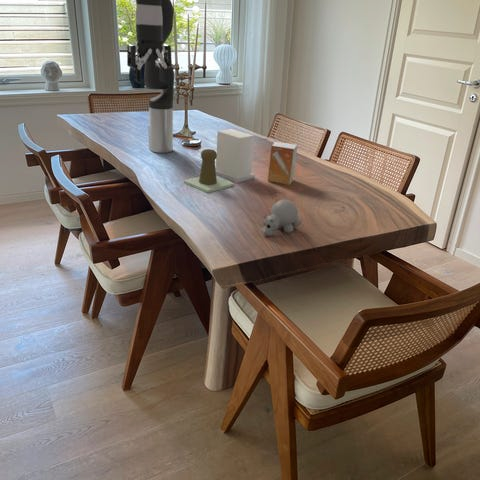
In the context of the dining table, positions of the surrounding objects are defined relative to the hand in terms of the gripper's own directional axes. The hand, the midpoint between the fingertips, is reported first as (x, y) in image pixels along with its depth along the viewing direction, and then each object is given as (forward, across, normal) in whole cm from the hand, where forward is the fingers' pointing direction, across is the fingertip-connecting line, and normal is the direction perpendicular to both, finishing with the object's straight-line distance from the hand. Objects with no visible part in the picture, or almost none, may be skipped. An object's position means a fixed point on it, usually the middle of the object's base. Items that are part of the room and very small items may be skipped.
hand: (150, 82), depth 139 cm
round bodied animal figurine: (+32, -5, +51) cm, 61 cm away
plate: (+32, -14, +12) cm, 37 cm away
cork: (+32, -14, +12) cm, 36 cm away
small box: (+32, -38, +24) cm, 55 cm away
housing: (+32, -28, +10) cm, 44 cm away
